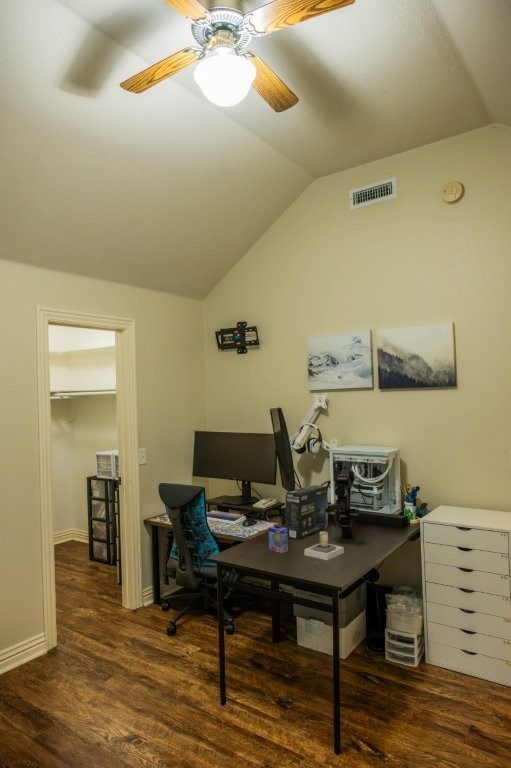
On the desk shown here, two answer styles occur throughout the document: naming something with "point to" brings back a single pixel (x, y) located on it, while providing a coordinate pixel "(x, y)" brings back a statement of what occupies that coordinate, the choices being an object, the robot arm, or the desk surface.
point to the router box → (306, 511)
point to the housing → (324, 551)
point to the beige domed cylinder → (324, 540)
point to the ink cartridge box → (278, 539)
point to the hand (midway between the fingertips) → (342, 527)
